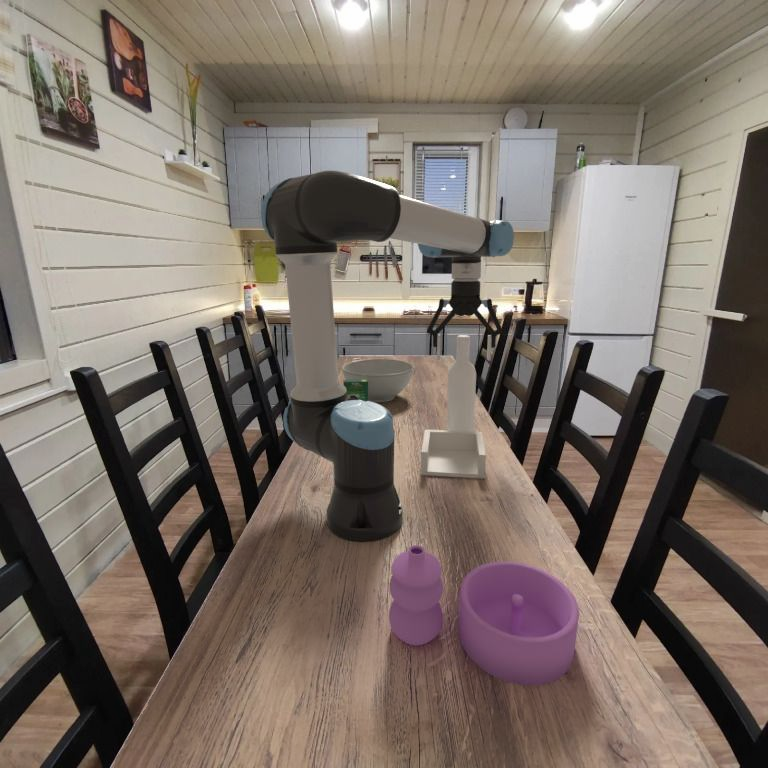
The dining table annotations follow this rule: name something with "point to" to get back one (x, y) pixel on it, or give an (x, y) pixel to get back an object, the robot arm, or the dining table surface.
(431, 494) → the dining table surface
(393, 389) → the decorative bowl
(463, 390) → the bottle
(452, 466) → the bottle rest
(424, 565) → the container set
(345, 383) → the coffee box
